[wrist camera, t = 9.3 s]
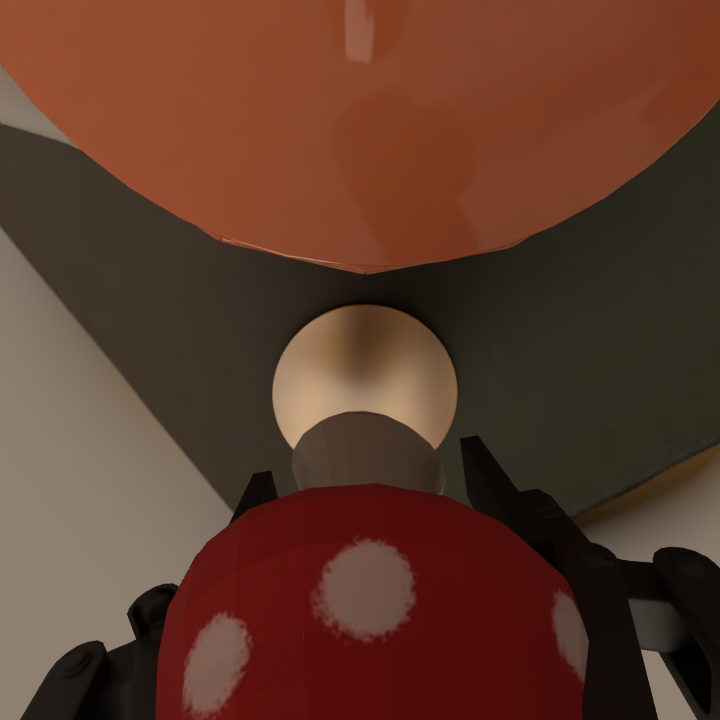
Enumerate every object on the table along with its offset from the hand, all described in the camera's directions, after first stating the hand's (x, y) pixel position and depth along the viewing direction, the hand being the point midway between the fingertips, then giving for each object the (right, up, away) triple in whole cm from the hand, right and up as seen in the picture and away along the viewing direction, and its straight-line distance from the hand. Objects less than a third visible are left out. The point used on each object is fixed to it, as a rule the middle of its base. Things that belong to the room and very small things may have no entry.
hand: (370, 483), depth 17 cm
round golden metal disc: (0, +3, +12) cm, 12 cm away
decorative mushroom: (0, +1, +2) cm, 2 cm away
